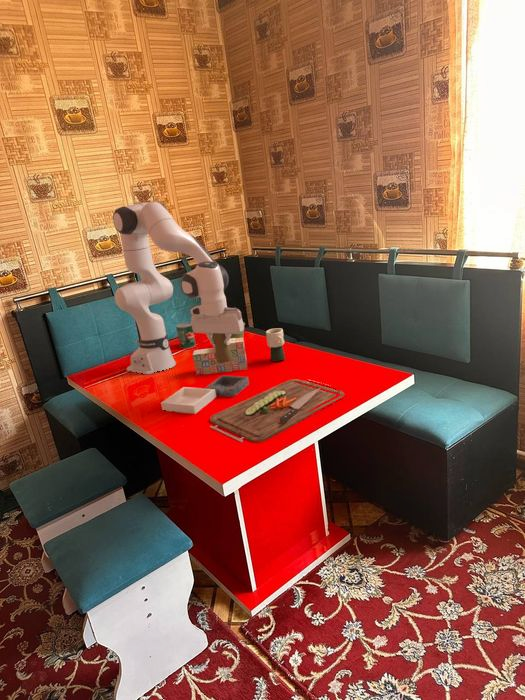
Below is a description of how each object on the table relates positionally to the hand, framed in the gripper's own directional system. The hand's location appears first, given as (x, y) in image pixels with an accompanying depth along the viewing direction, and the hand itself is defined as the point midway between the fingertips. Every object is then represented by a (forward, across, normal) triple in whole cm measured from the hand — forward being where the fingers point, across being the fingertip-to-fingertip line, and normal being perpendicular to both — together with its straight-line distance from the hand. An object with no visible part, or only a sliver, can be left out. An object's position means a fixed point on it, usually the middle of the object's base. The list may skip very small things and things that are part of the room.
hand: (220, 344), depth 185 cm
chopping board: (+18, -26, +11) cm, 34 cm away
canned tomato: (+19, +50, -46) cm, 70 cm away
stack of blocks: (+18, +13, -18) cm, 29 cm away
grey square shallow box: (+18, 0, 0) cm, 18 cm away
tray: (+18, +8, +14) cm, 24 cm away
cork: (+6, -1, 0) cm, 6 cm away
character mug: (+18, -6, -32) cm, 37 cm away
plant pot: (+18, +22, -45) cm, 53 cm away
